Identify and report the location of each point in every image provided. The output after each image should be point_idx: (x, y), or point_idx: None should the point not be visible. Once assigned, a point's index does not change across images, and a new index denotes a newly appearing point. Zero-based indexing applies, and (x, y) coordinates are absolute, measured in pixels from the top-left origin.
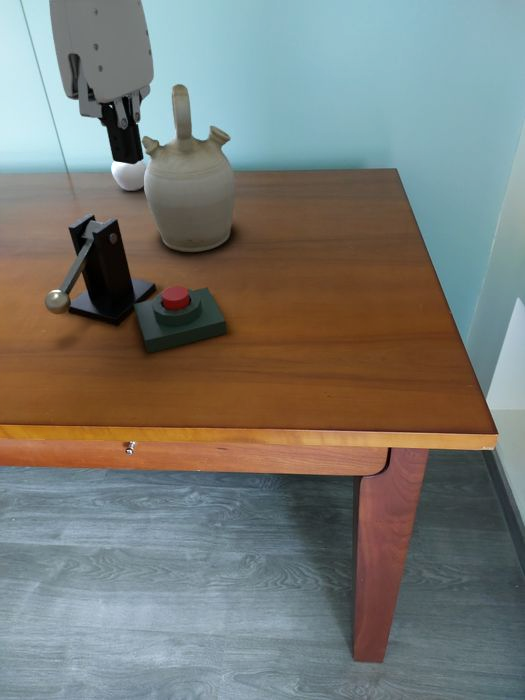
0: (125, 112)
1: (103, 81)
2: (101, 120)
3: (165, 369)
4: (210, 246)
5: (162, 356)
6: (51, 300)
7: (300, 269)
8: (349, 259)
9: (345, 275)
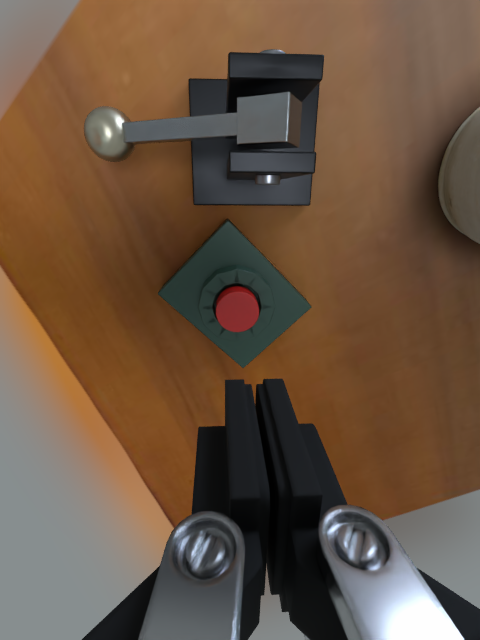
0: (329, 635)
1: None
2: (120, 614)
3: (146, 324)
4: (457, 228)
5: (165, 307)
6: (87, 138)
7: (414, 380)
8: (451, 425)
9: (409, 433)
